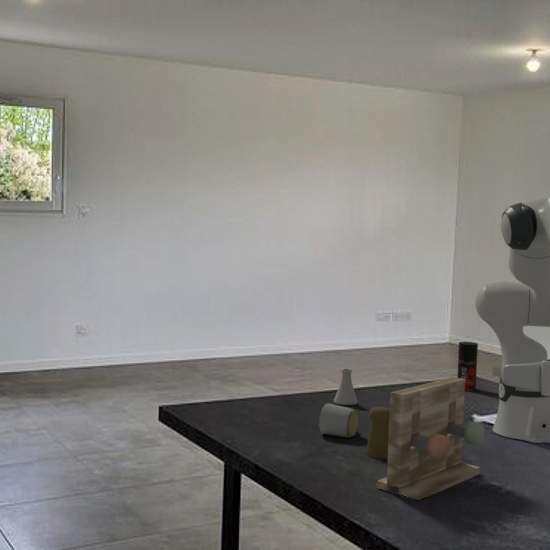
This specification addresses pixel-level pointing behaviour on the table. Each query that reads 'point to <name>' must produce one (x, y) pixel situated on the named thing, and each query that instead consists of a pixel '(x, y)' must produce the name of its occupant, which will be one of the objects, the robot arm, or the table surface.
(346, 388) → the flask
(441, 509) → the table surface
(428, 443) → the button terracotta
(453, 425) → the button sage
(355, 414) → the ceramic mug
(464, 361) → the deodorant
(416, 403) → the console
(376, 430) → the cork
